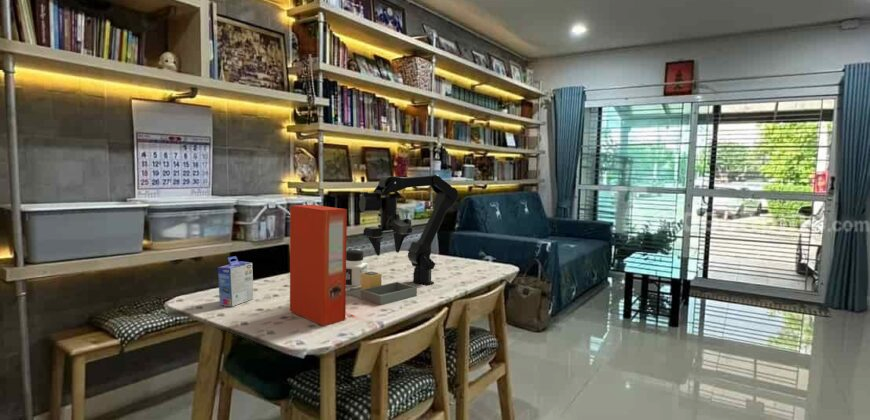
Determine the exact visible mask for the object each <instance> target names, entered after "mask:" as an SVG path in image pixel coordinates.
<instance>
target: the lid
mask: <svg viewBox="0 0 870 420" xmlns="http://www.w3.org/2000/svg"><path fill="white" fill-rule="evenodd" d="M346 295H349V296H352V297H355V298H357V299H361V286H350V287H347V288H346Z"/></svg>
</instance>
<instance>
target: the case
mask: <svg viewBox="0 0 870 420" xmlns="http://www.w3.org/2000/svg"><path fill="white" fill-rule="evenodd" d="M417 293H418V287H416V286H414V285H409V284H406V283H403V282H399V281H394V282H391V283H385V284H381V286H376V287H372V288H367V289H363V290H361V298H360V300H363V301H366V302H370V303H372V304H376V305H377V306H383V305H387V304H390V303H395V302H399V301H402V300H406V299H410V298H414V297H417V296H418V295H417Z"/></svg>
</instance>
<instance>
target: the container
mask: <svg viewBox="0 0 870 420" xmlns="http://www.w3.org/2000/svg"><path fill="white" fill-rule="evenodd" d="M366 272H368V262H364V251H363V250H361V249H359V248H358V249H355V248H353V249H348V250H347V249H346V288H349V287H357V286H361V274H363V273H366Z"/></svg>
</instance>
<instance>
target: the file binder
mask: <svg viewBox="0 0 870 420" xmlns="http://www.w3.org/2000/svg"><path fill="white" fill-rule="evenodd" d="M289 209H290V210H289V212H290V213H289V214H290V215H289V216H290V217H289V218H290V219H289V220H290V221H289V225H290V226H289V235H290V236H289V266H290V267H289V312H292V313H293V314H296V315H298V316H300V317H303V318H305V319H307V320H309V321H312V322H314V323H316V324H318V325H321V326H326V325H331V324H335V323H339V322H343V321H345V320H346V304H347V303H346V300H347V299H346V297H347V296H346V295H347V294H346V289H347V287H346V251H347V236H348V235H347V230H348V228H347V225H348V223H347V222H348V217H347V216H348V209H346V208H340V207H339V208H338V207H332V206H324V205H319V204H318V205H316V204H298V205H297V204H295V205H290V206H289Z"/></svg>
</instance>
